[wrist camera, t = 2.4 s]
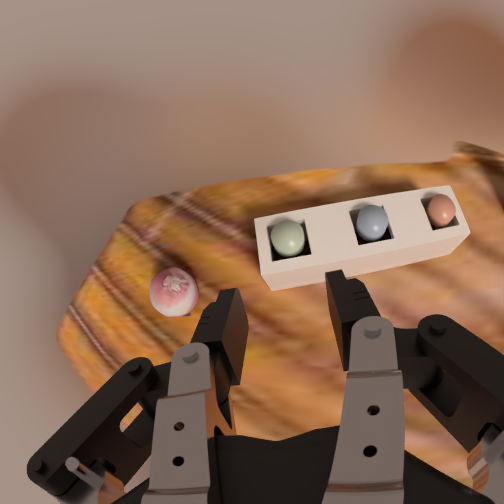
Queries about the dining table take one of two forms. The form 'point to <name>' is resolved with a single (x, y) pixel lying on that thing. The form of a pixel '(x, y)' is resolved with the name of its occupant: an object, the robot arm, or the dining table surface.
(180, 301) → the onion
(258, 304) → the dining table surface
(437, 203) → the terracotta button
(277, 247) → the sage button
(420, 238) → the block
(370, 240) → the slate button
